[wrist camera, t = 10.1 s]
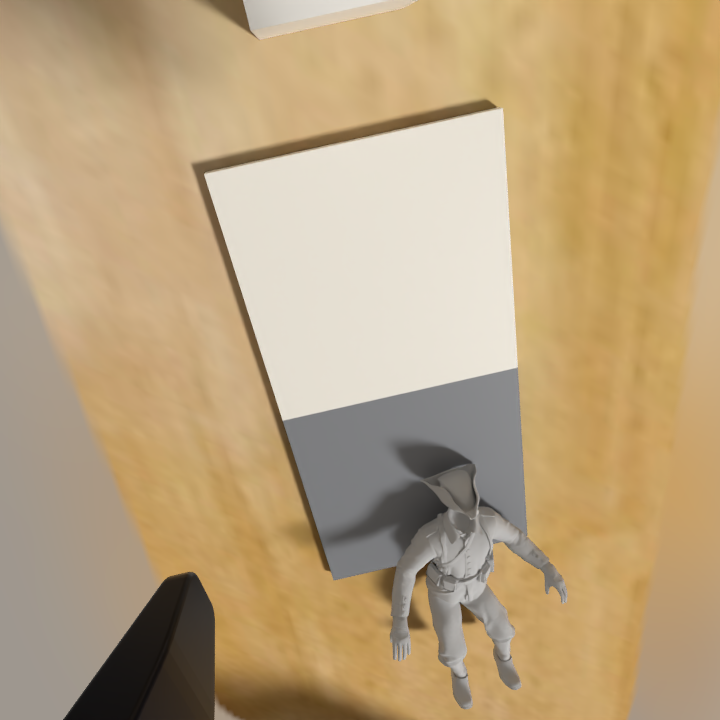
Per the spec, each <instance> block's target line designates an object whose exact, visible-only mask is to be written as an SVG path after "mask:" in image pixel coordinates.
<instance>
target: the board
mask: <svg viewBox="0 0 720 720" xmlns="http://www.w3.org/2000/svg"><path fill="white" fill-rule="evenodd" d="M204 176H205V179H206V182H207V185H208V189H209V192H210V195H211V198H212V201H213V204H214V207H215V210H216V214H217V217H218V220H219V223H220V226H221V229H222V232H223V235H224V239H225V242H226V245H227V248H228V251H229V254H230V257H231V260H232V264H233V267H234V270H235V273H236V276H237V279H238V282H239V286H240V289H241V292H242V295H243V298H244V301H245V304H246V307H247V311H248V314H249V317H250V320H251V323H252V326H253V329H254V332H255V336H256V339H257V342H258V345H259V348H260V351H261V354H262V357H263V361H264V364H265V367H266V370H267V373H268V376H269V379H270V382H271V386H272V389H273V392H274V395H275V398H276V401H277V404H278V407H279V411H280V414H281V417H282V420H283V423H284V426H285V429H286V433H287V436H288V439H289V442H290V445H291V448H292V451H293V454H294V458H295V461H296V464H297V467H298V470H299V473H300V476H301V479H302V483H303V486H304V489H305V492H306V495H307V498H308V501H309V504H310V508H311V511H312V514H313V517H314V520H315V523H316V526H317V529H318V533H319V536H320V539H321V542H322V545H323V548H324V551H325V555H326V558H327V561H328V564H329V567H330V570H331V573H332V576H333V580H338V579H342V578H346V577H351V576H355V575H359V574H364V573H368V572H373V571H377V570H381V569H386V568H390V567H394V566H397V563H398V561H399V560H400V559H401V557H402V556H404V554H405V550H406V549H407V548H408V547H409V546H410V545H411V540H412V539H413V538H414V536H415V534H416V533H417V532H418V529H419V528H421V527H422V526H423V525H425V524H426V523H428V522H430V521H432V520H434V519H436V518H437V515H438V514H440V513H442V514H443V513H444V512H447V510H448V508H449V507H447V506H446V505H445V504H444V503H442V502H441V500H440V498H439V497H438V496H437V495H436V493H435V492H434V491H433V490H432V489H431V488H429V487H428V486H427V485H426V484H425V483H424V482H422V481H420V480H423V479H426V478H429V477H432V476H434V475H437V474H440V473H442V472H444V471H447V470H450V469H453V468H459V467H463V466H465V465H467V464H475V465H476V470H477V473H476V476H475V485H476V489H477V491H478V494H479V498H480V499H479V504H478V507H481V506H482V507H489V508H492V509H493V510H494V511H495V512H496V513H498V514H500V515H501V517H503V518H505V519H506V520H508V521H509V522H510V523H511V524H513V525H514V526H516V527H517V528H519V529H520V530H521V531H522V532H523V533H524V534H525V535H526V536H527V522H526V505H525V487H524V470H523V452H522V435H521V417H520V400H519V382H518V365H517V347H516V329H515V312H514V294H513V277H512V259H511V242H510V224H509V207H508V189H507V172H506V154H505V137H504V119H503V108H500V107H497V108H493V109H488V110H484V111H479V112H475V113H470V114H466V115H461V116H457V117H452V118H448V119H443V120H439V121H434V122H429V123H425V124H420V125H416V126H411V127H407V128H402V129H398V130H393V131H389V132H384V133H380V134H375V135H371V136H366V137H362V138H357V139H353V140H348V141H344V142H339V143H335V144H330V145H326V146H321V147H316V148H312V149H307V150H303V151H298V152H294V153H289V154H285V155H280V156H276V157H271V158H267V159H262V160H258V161H253V162H249V163H244V164H240V165H235V166H231V167H226V168H222V169H217V170H213V171H208V172H205V174H204ZM492 542H493V544H495V543H499V542H502V541H499V540H495V539H493V540H492Z"/></svg>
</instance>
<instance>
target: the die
mask: <svg viewBox="0 0 720 720" xmlns="http://www.w3.org/2000/svg"><path fill="white" fill-rule="evenodd" d="M416 1H418V0H243V2H244V6H245V10H246V14H247V18H248V22H249V26H250V30H251V32H252V33H253V34H254V35H255V36H256V37H257V38H258V39H259V40H262V39H266V38H271V37H275V36H280V35H284V34H289V33H294V32H298V31H303V30H307V29H312V28H316V27H321V26H326V25H330V24H335V23H339V22H344V21H348V20H353V19H357V18H362V17H367V16H371V15H376V14H380V13H385V12H389V11H394V10H399V9H403V8H405V7H406V6H408V5H410V4H412V3H414V2H416Z"/></svg>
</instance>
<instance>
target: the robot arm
mask: <svg viewBox="0 0 720 720" xmlns="http://www.w3.org/2000/svg"><path fill="white" fill-rule="evenodd" d="M214 707H215V616H214V610H213V606H212V604H211V602H210V600H209V598H208V596H207V594H206V592H205V590H204V588H203V586H202V584H201V582H200V580H199V578H198V576H197V575H196V574H195V573H193V572H187V573H182V574H178V575H174V576H170V577H168V578H167V579H165V580H164V581H163V583H162V584H161V585H160V587H159V588H158V589H157V591H156V592H155V594H154V595H153V596H152V598H151V599H150V601H149V602H148V603H147V605H146V606H145V607H144V609H143V610H142V612H141V613H140V614H139V616H138V617H137V618H136V620H135V621H134V623H133V624H132V625H131V627H130V628H129V630H128V631H127V632H126V634H125V635H124V637H123V638H122V639H121V641H120V642H119V643H118V645H117V646H116V648H115V649H114V650H113V652H112V653H111V654H110V656H109V657H108V659H107V660H106V661H105V663H104V664H103V665H102V667H101V668H100V670H99V671H98V672H97V674H96V675H95V677H94V678H93V679H92V681H91V682H90V683H89V685H88V686H87V688H86V689H85V690H84V692H83V693H82V695H81V696H80V697H79V699H78V700H77V701H76V703H75V704H74V706H73V707H72V708H71V710H70V711H69V712H68V714H67V715H66V717H65V718H64V719H63V720H214Z"/></svg>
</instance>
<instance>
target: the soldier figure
mask: <svg viewBox="0 0 720 720" xmlns="http://www.w3.org/2000/svg"><path fill="white" fill-rule="evenodd" d="M476 473H477V470H476V465H475V464H467V465H465V466H463V467H459V468H453V469H450V470H447V471H444V472H442V473H440V474H437V475H434V476H432V477H429V478H426V479H423V480H420V481H422V482H424V483H425V484H426V485H427V486H428V487H429V488H431V489H432V490H433V491H434V492H435V493H436V495H437V496H438V497H439V498H440V500H441V502H442V503H444V504H445V505H446V506H447V507H449V508H448V510H447V512H444V513H443V514H442V513H440V514H438V515H437V518H436V519H434V520H432V521H430V522H428V523H426V524H425V525H423V526H422V527H421V528H419V529H418V532H417V533H416V534H415V536H414V538H413V539H412V540H411V545H410V546H409V547H408V548H407V549H406V550H405V554H404V556H402V557H401V559H400V560H399V561H398V563H397V566H396V572H395V577H394V583H393V589H392V611H391V616H393V627H392V629H391V633H390V641H391V643H392V644H393V659H394V660H396V659H397V645H398V661H401V659H402V645H403V660H405V659H406V655H407V653H408V655H409V654H410V650H411V648H410V647H411V643H410V634H409V629H408V624H407V616H408V615H409V608H410V602H411V595H412V590H413V587H414V583H415V575H416V574H417V572H418V571H419V570H420V569H421V568H423V567H424V566H425V565H426V564H427V563H428V562H429V561H430V560H432V561H431V562H430V564H429V565H428V568H427V572H426V575H427V577H426V585H427V588H428V599H429V605H430V609H431V613H432V619H433V626H434V629H435V631H436V634H437V636H438V640H439V650H438V653H439V655H438V659H439V661H440V662H441V663H443V664H444V665H445V666H447V667H451V676H452V688H453V695H454V698H455V700H456V701H457V703H458V704H459V706H460V707H461V708H463V709H469V708H471V707H472V704H473V702H472V696H471V692H470V688H469V683H468V674H467V669H466V667H465V664H464V662H463V659H464V657H465V656H466V653H467V647H466V644H465V639H464V635H463V630H462V614H461V607H460V603H461V604H463V605H464V606H465V607H466V608H468V609H469V610H470V611H471V612H472V613H473V614H474V615H475V616H476V617H477V618H478V619H479V620H480V621H481V622H483V623H484V625H485V630H486V631H487V634H488V636H489V637H490V638H492V640H493V643H494V644H495V646H494V649H493V655H494V659H495V661H496V664H497V667H498V671H499V675H500V678H501V680H502V681H503V682H504V683H505V684H506V685H507V686H508V687H509V688H511V689H512V690H517V689H519V688H521V682H520V679H519V676H518V674H517V671H516V669H515V667H514V665H513V663H512V657H511V655H510V641H511V638H513V637H514V635H515V628H514V627H513V626H512V625H511V624H510V622H509V620H508V616H507V610H506V609H505V607H504V606H503V605H501V603H500V602H499V601H498V599H497V598H496V596H495V595H494V593H493V592H492V590H491V589H490V588H489V586H488V585H487V584H486V583H487V578H488V576H489V574H490V572H494V559H493V550H492V549H493V542H492V540H493V539H495V540H499V541H502V542H504V543H505V544H506V546H507V547H508V548H509V549H510V550H511V551H512V552H513V553H515V554H517V555H518V556H520V557H521V558H522V559H523V560H524V561H526V562H528V563H530V564H531V565H533V566H534V567H536V568H537V569H539V568H540V569H541V570H542V572H543V573H544V576H545V591H546V594H547V595H548V594H549V588H550V587H551V586H553V587H555V588H556V589H557V590H558V592H559V594H560V596H561V602H562V604H564V602H565V603H566V602H567V589H566V586H565V583H564V580H563V578H562V576H561V575H560V574H559V573H558V572H557V570H556V568H555V567H554V566H553V564H551V563H550V562H549V558H548V557H547V556H546V555H545V554H544V553H543V552H542V551H541V550H540V549H539V548H538V547H537V546H536V545H535V544H534V543H533V542H532V541H531V540H530V539H529V538H528V537H527V536H526V535H525V534H524V533H523V532H522V531H521V530H520V529H519V528H517V527H516V526H514V525H513V524H511V523H510V522H509V521H508V520H506V519H505V518H503V517H501V515H500V514H498V513H496V512H495V511H494V510H493V509H492V508H489V507H482V506H481V507H478V504H479V499H480V498H479V494H478V491H477V489H476V485H475V476H476ZM459 602H460V603H459Z"/></svg>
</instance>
